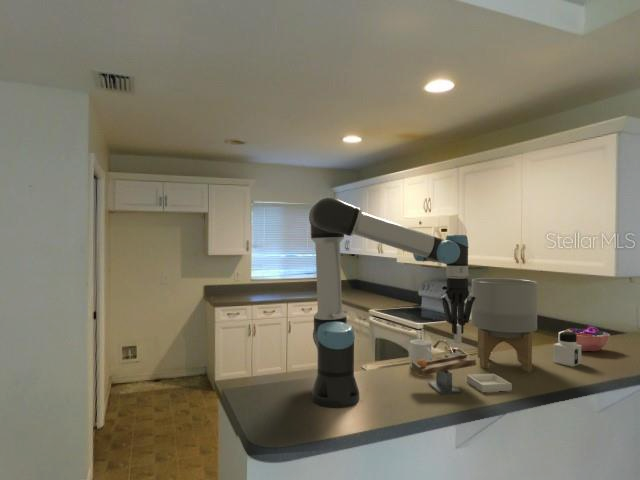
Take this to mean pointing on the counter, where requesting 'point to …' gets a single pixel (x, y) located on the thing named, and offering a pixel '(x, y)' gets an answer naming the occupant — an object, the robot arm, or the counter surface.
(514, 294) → the planter
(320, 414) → the counter surface
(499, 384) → the dish
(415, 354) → the mug
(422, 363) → the ball
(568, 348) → the container
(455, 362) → the plank
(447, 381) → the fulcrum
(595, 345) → the cell model
